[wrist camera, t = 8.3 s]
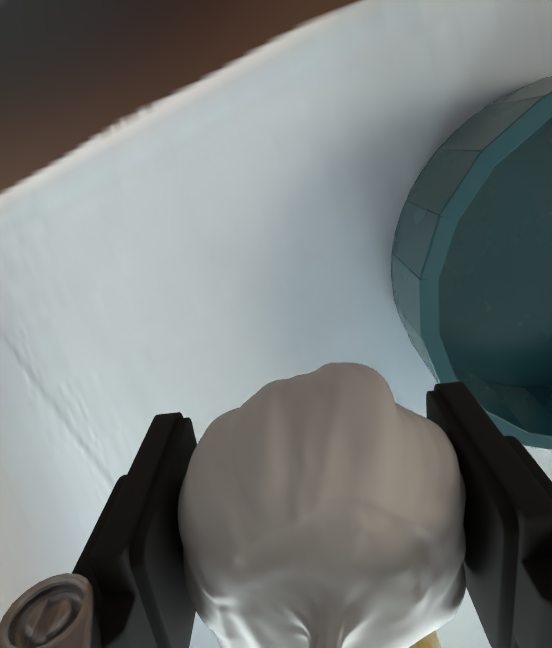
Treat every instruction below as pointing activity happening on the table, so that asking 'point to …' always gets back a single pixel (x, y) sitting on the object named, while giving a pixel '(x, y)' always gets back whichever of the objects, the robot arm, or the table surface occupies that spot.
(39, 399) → the table surface
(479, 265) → the pot
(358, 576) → the garlic
